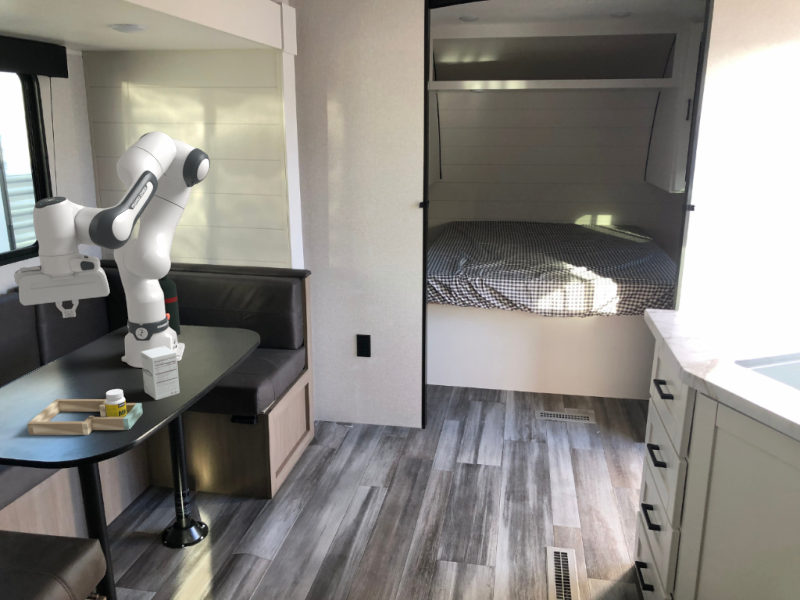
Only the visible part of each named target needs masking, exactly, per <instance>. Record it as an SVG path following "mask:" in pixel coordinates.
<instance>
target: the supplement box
mask: <svg viewBox="0 0 800 600" xmlns="http://www.w3.org/2000/svg"><path fill="white" fill-rule="evenodd" d="M141 359H142V379H143V389H144V393H145V394H147V395H149V397H152V398H153V399H154V400H156V401H157V400H161V399H165V398H168V397H172V396H175V395H179V394H180V393H181V392H180V382H179V380H180V379H179V370H178V361H177V355H176V352H174V351H172V350H171V349H169V348H167V347H165V346H162V347H158V348H154V349H150V350H146V351H142V352H141Z"/></svg>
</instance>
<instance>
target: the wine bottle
mask: <svg viewBox="0 0 800 600" xmlns="http://www.w3.org/2000/svg"><path fill="white" fill-rule="evenodd" d="M158 282H159V284H160V287H161V289H162V291H163V294H164V303H165V314H168V313H169V315H170V316H169V317H170V318H169V320H168V321H169V322H168V323H169V327H170V328H171V329H173V330H174V331H175V332H176V334H177V336H179V335H181V325H180V324H181V321H180V314H179V303H178V292H177V285H176V284H177V283H175V282H174V280H172V279H170V278H168V273H167V274H166V275H165V276H164V277H163V278H160V279H158Z"/></svg>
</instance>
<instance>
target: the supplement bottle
mask: <svg viewBox="0 0 800 600" xmlns="http://www.w3.org/2000/svg"><path fill="white" fill-rule="evenodd" d="M105 399H106V401H105V405H106V414H107V416H106V417H125V416H126V415H127V411H126V403H127V402H126V398H125V396H124V390H123V389H120V388H115V389H110V390H108V391H106V392H105Z"/></svg>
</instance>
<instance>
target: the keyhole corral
mask: <svg viewBox="0 0 800 600" xmlns="http://www.w3.org/2000/svg"><path fill="white" fill-rule="evenodd" d="M106 399H107V398H104V399H103V398H101V399H100V398H99V399H98V398H95V399H93V398H91V399H90V398H81V399H80V398H73V399H72V398H61V399H60V398H56V399H54V400H53V401H51V403H50V404H49V405H47V407H45V408H44V409H43V410H42V411H40V413H38V414H37V415H36V416H35V417H34V418H32V419H31V420H29V422H27V430H28V436H41V435H42V436H51V435H52V436H62V435H64V436H65V435H66V436H75V435H76V436H77V435H81V436H82V435H84V436H89V435H90V434H91V432H92V431H130V430H131V428H132V427H133V426H134V425H135V424H136V422H137V421H138V420H139V419H140V418H141V416H142V415H143V403H142V402H126V411H127V415H126V416H125V417H107V414H106V405H105V401H106ZM61 412H100V413H99V414H100V416H95V415H89V416H88V417H87V418H86V419H85V420H84V421H83V420H82V421H69V420H68V421H65V420H62V421H55V420H54V421H53V420H52V419H54V418H55V416H58V414H59V413H61ZM129 429H130V430H129Z"/></svg>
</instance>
